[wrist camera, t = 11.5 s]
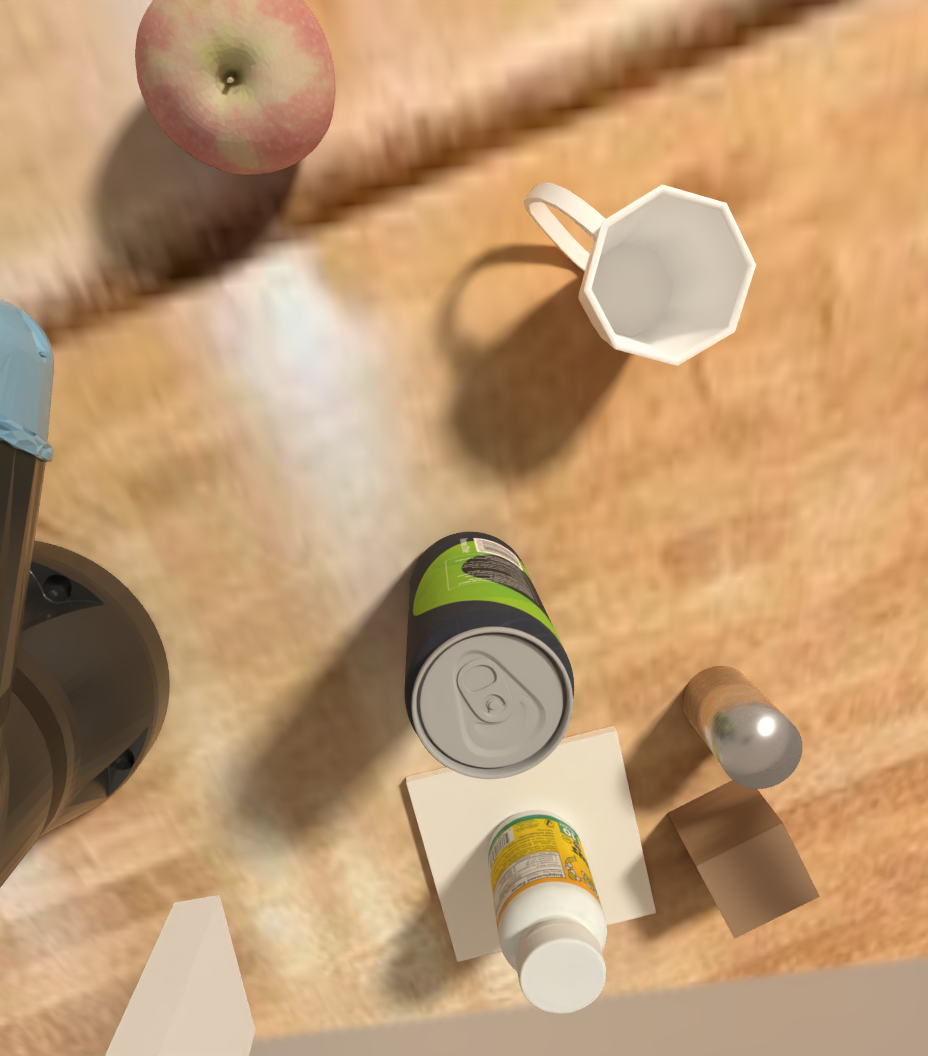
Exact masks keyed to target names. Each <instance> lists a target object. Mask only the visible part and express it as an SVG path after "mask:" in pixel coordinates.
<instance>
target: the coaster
mask: <svg viewBox="0 0 928 1056" xmlns="http://www.w3.org/2000/svg"><path fill="white" fill-rule="evenodd" d="M406 784H407V787H408V791H409V794H410V798H411V801H412V805H413V808H414V812H415V815H416V819H417V822H418V826H419V829H420V833H421V836H422V840H423V843H424V847H425V850H426V854H427V857H428V861H429V864H430V868H431V871H432V875H433V878H434V882H435V885H436V889H437V892H438V896H439V899H440V903H441V906H442V910H443V913H444V917H445V920H446V924H447V927H448V931H449V934H450V938H451V941H452V945H453V948H454V952H455V956H456V959H457V962H460V961H464V960H468V959H472V958H476V957H480V956H484V955H488V954H492V953H496V952H500V951H502V950H501V947H500V943H499V938H498V931H497V924H496V915H495V908H494V900H493V893H492V885H491V878H490V871H489V865H488V849H489V844H490V840H491V838H492V836H493V834H494V832H495V831H496V830H497V828H498V827H499V826H500V825H501V824H502V823H503V822H504V821H505V820H507V819H508V818H509V817H511V816H513V815H515V814H518V813H521V812H524V811H529V810H544V811H548V812H552V813H555V814H557V815H558V816H560V817H561V818H563V819H564V820H565V821H567V822H568V823H569V824H570V825H571V826H572V827H573V828H574V829H575V831H576V832H577V834H578V836H579V839H580V842H581V844H582V847H583V850H584V853H585V856H586V859H587V862H588V865H589V869H590V872H591V875H592V878H593V881H594V884H595V887H596V890H597V893H598V896H599V900H600V903H601V906H602V909H603V912H604V914H605V918H606V924H607V925H610V924H614V923H618V922H622V921H626V920H630V919H634V918H638V917H642V916H646V915H651V914H655V913H656V911H655V906H654V901H653V897H652V892H651V887H650V883H649V878H648V874H647V869H646V864H645V860H644V855H643V851H642V846H641V841H640V837H639V832H638V827H637V823H636V818H635V814H634V809H633V804H632V800H631V795H630V790H629V786H628V781H627V777H626V772H625V767H624V763H623V758H622V753H621V749H620V744H619V740H618V735H617V731H616V729H615V727H614V726H611V727H607V728H603V729H599V730H595V731H591V732H587V733H583V734H579V735H574V736H570V737H566V738H563V739H562V740H561V742H560V743H559V745H558V746H557V747H556V749H555V750H554V751H553V752H552V753H551V754H550V755H549V756H548V757H547V758H546V759H545V760H543V761H542V762H541V763H539V764H538V765H536V766H535V767H533V768H531V769H529V770H527V771H525V772H523V773H520V774H518V775H514V776H511V777H506V778H499V779H480V778H474V777H469V776H466V775H462V774H460V773H457V772H455V771H453V770H451V769H449V768H447V767H445V768H441V769H437V770H433V771H429V772H425V773H421V774H417V775H412V776H408V777H406Z"/></svg>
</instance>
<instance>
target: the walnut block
mask: <svg viewBox="0 0 928 1056" xmlns="http://www.w3.org/2000/svg"><path fill="white" fill-rule="evenodd" d="M668 815H669V817H670V819H671V821H672V823H673V825H674V826H675V828H676V830H677V832H678V834H679V836H680V838H681V840H682V841H683V843H684V845H685V847H686V849H687V851H688V853H689V854H690V856H691V858H692V860H693V862H694V864H695V866H696V868H697V869H698V871H699V873H700V875H701V877H702V879H703V881H704V882H705V884H706V886H707V888H708V890H709V892H710V894H711V896H712V897H713V899H714V901H715V903H716V905H717V907H718V909H719V910H720V912H721V914H722V916H723V918H724V920H725V922H726V923H727V925H728V927H729V929H730V931H731V933H732V935H733V936H734V938H737V937H739V936H741V935H743V934H745V933H747V932H749V931H751V930H753V929H755V928H757V927H759V926H761V925H763V924H765V923H767V922H769V921H771V920H773V919H775V918H777V917H779V916H781V915H783V914H785V913H787V912H789V911H791V910H793V909H795V908H797V907H799V906H802V905H804V904H806V903H808V902H810V901H812V900H814V899H816V898H818V897H820V896H819V894H818V892H817V890H816V888H815V886H814V884H813V882H812V880H811V878H810V876H809V874H808V872H807V870H806V868H805V866H804V864H803V862H802V860H801V858H800V856H799V854H798V852H797V850H796V848H795V846H794V844H793V842H792V840H791V838H790V836H789V834H788V832H787V830H786V828H785V826H784V824H783V822H782V821H781V820H780V818H779V817H778V816H777V814H776V813H775V812H774V811H773V809H772V808H771V807H770V805H769V804H768V803H767V802H766V800H765V799H764V798H763V796H762V795H761V794H760V792H759V791H758V790H757V789H752V788H747V787H744V786H742V785H739V784H738V783H736V782H735V781H734V780H732V781H730V782H728V783H726V784H724V785H722V786H720V787H718V788H716V789H714V790H712V791H710V792H708V793H706V794H704V795H702V796H700V797H698V798H696V799H694V800H692V801H690V802H688V803H686V804H685V805H683V806H681V807H679V808H677V809H675V810H673V811H671V812H669V813H668Z"/></svg>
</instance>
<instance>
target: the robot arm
mask: <svg viewBox="0 0 928 1056" xmlns="http://www.w3.org/2000/svg"><path fill="white" fill-rule="evenodd" d="M53 374H54V357H53V351H52V348H51V345H50V342H49V340H48V338H47V336H46V334H45V333H44V331H43V330H42V328H41V327H40V326H39V325H38V324H37V322H36V321H35V320H34V319H33V318H31V317H30V316H29V315H28V314H27V313H26V312H24V311H23V310H22V309H20V308H18V307H17V306H15V305H13V304H11V303H9V302H6V301H4V300H1V299H0V887H1V886H2V885H3V883H4V882H5V881H6V879H7V878H8V877H9V876H10V874H11V873H12V872H13V870H14V869H15V868H16V867H17V865H18V864H19V863H20V861H21V860H22V859H23V858H24V856H25V855H26V854H27V852H28V851H29V850H30V848H31V847H32V846H33V844H34V843H35V842H36V841H37V839H38V838H39V837H40V836H42V835H44V834H46V833H48V832H50V831H52V830H53V829H55V828H57V827H59V826H61V825H63V824H65V823H67V822H69V821H70V820H72V819H74V818H76V817H78V816H80V815H82V814H84V813H86V812H87V811H89V810H91V809H93V808H95V807H96V806H98V805H99V804H101V803H102V802H104V801H105V800H106V799H108V798H109V797H110V796H111V795H112V794H114V793H115V792H116V791H117V790H118V789H119V788H120V787H121V786H122V785H123V784H124V783H125V782H126V781H127V780H128V779H129V778H130V777H131V776H132V774H133V773H134V772H135V770H136V769H137V768H138V766H139V765H140V763H141V762H142V760H143V759H144V757H145V756H146V755H147V753H148V752H149V750H150V749H151V747H152V746H153V744H154V742H155V740H156V739H157V737H158V734H159V732H160V730H161V727H162V725H163V722H164V719H165V715H166V711H167V706H168V700H169V670H168V663H167V659H166V654H165V651H164V647H163V644H162V641H161V639H160V636H159V634H158V632H157V629H156V627H155V625H154V623H153V622H152V620H151V618H150V616H149V615H148V613H147V612H146V610H145V609H144V607H143V606H142V605H141V603H140V602H139V601H138V599H137V598H136V597H135V596H134V595H133V594H132V593H131V592H130V590H129V589H128V588H127V587H126V586H125V585H123V584H122V583H121V582H120V581H119V580H118V579H117V578H116V577H114V576H113V575H112V574H111V573H109V572H108V571H106V570H105V569H104V568H102V567H101V566H99V565H98V564H96V563H94V562H93V561H91V560H89V559H87V558H85V557H83V556H81V555H79V554H77V553H75V552H72V551H70V550H67V549H64V548H62V547H58V546H55V545H52V544H48V543H43V542H39V541H34V540H35V533H36V526H37V519H38V512H39V505H40V498H41V491H42V484H43V478H44V471H45V464H46V462H52V458H53V453H54V452H53V448H52V446H51V445H50V443H49V442H48V429H49V417H50V406H51V395H52V385H53ZM254 1033H255V1027H254V1023H253V1020H252V1016H251V1012H250V1008H249V1004H248V1001H247V997H246V993H245V989H244V986H243V982H242V978H241V974H240V971H239V967H238V963H237V959H236V955H235V952H234V948H233V944H232V940H231V937H230V933H229V929H228V925H227V922H226V918H225V914H224V910H223V906H222V903H221V899H220V895H215V896H210V897H204V898H198V899H193V900H187V901H181V902H176V903H174V905H173V907H172V909H171V911H170V914H169V916H168V918H167V920H166V922H165V925H164V927H163V929H162V931H161V933H160V936H159V938H158V940H157V942H156V944H155V947H154V949H153V951H152V953H151V955H150V958H149V960H148V962H147V964H146V966H145V969H144V971H143V973H142V975H141V977H140V980H139V982H138V984H137V986H136V988H135V991H134V993H133V995H132V997H131V999H130V1002H129V1004H128V1006H127V1008H126V1010H125V1013H124V1015H123V1017H122V1019H121V1021H120V1024H119V1026H118V1028H117V1030H116V1032H115V1035H114V1037H113V1039H112V1041H111V1044H110V1046H109V1048H108V1050H107V1052H106V1055H105V1056H249V1053H250V1049H251V1045H252V1041H253V1037H254Z"/></svg>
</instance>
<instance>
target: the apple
mask: <svg viewBox="0 0 928 1056" xmlns="http://www.w3.org/2000/svg"><path fill="white" fill-rule="evenodd" d="M135 59H136V70H137V79H138V83H139V87H140V90H141V93H142V96H143V98H144V100H145V102H146V104H147V106H148V108H149V110H150V112H151V113H152V115H153V116H154V118H155V120H156V121H157V122H158V124H159V125H160V126H161V128H162V129H163V130H164V131H165V133H166V134H167V135H168V136H169V137H170V138H171V139H172V140H173V141H174V142H175V143H176V144H177V145H179V146H180V147H181V148H182V149H183V150H185V151H186V152H187V153H189V154H190V155H191V156H193V157H194V158H196V159H197V160H199V161H201V162H203V163H205V164H208V165H210V166H212V167H215V168H217V169H220V170H222V171H225V172H229V173H233V174H239V175H253V174H264V173H270V172H275V171H278V170H282V169H285V168H287V167H289V166H291V165H294V164H296V163H297V162H299V161H300V160H302V159H303V158H305V157H306V156H307V155H308V154H310V153H311V152H312V151H313V150H314V149H315V148H316V147H317V145H318V144H319V143H320V141H321V140H322V138H323V137H324V135H325V134H326V132H327V130H328V128H329V126H330V123H331V119H332V116H333V109H334V101H335V74H334V67H333V61H332V56H331V52H330V49H329V45H328V42H327V40H326V37H325V35H324V33H323V30H322V28H321V26H320V24H319V22H318V20H317V18H316V17H315V15H314V14H313V12H312V11H311V10H310V8H309V7H308V6H307V4H306V3H305V2H304V1H303V0H153V1H152V3H151V4H150V6H149V7H148V9H147V10H146V12H145V14H144V16H143V18H142V20H141V23H140V26H139V29H138V34H137V40H136V49H135Z"/></svg>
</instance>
